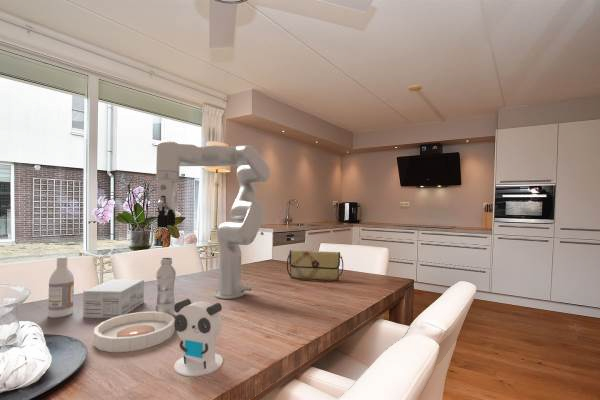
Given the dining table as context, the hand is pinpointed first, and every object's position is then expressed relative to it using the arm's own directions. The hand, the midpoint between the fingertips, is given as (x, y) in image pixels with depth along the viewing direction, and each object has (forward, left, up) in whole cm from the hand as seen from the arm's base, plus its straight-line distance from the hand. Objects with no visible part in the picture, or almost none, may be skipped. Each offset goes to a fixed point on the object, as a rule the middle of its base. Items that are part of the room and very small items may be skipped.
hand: (166, 226), depth 111 cm
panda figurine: (-17, +35, -32) cm, 50 cm away
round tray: (+4, +16, -31) cm, 35 cm away
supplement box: (+20, -9, -32) cm, 39 cm away
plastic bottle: (0, 0, -32) cm, 32 cm away
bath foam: (+36, -5, -32) cm, 48 cm away
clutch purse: (-62, -48, -32) cm, 84 cm away
